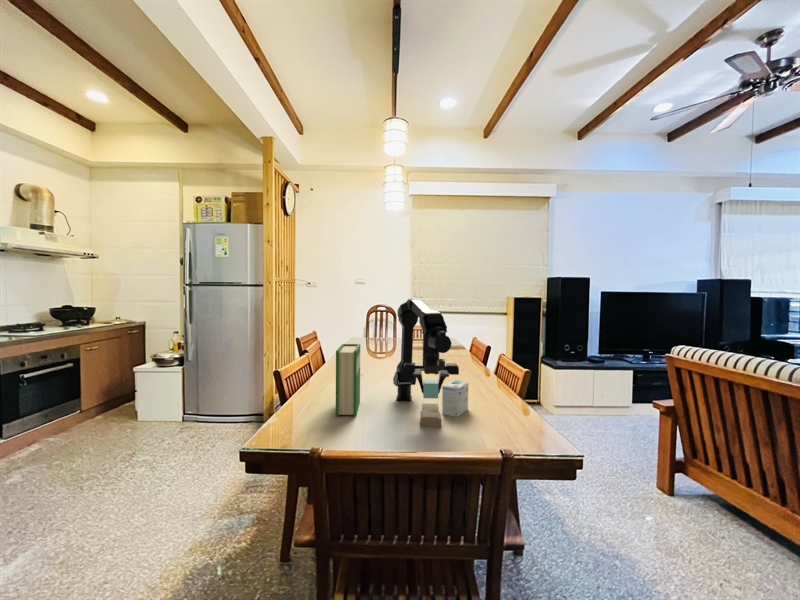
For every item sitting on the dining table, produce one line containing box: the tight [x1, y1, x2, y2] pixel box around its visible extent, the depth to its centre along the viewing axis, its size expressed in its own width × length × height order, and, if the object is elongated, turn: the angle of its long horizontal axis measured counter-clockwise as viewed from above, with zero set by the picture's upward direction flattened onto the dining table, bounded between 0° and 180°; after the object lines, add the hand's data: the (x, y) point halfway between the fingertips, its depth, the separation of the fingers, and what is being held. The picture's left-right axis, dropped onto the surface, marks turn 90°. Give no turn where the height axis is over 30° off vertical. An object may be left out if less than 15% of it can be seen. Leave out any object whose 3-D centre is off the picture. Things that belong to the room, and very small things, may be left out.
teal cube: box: [422, 379, 439, 399], centre depth 124 cm, size 5×5×5 cm
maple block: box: [421, 401, 440, 417], centre depth 124 cm, size 6×6×4 cm
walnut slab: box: [419, 410, 442, 429], centre depth 124 cm, size 7×7×4 cm
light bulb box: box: [441, 379, 469, 418], centre depth 137 cm, size 11×7×11 cm, turn 149°
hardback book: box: [335, 343, 361, 418], centre depth 139 cm, size 18×7×24 cm, turn 2°
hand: (430, 393), depth 125 cm, fingers closed on teal cube, 5 cm apart
